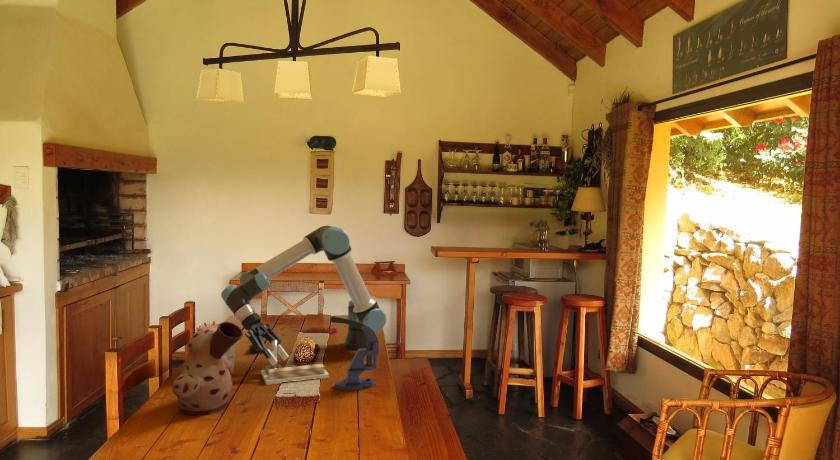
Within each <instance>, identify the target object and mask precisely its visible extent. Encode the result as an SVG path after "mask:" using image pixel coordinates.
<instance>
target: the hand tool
mask: <svg viewBox="0 0 840 460" xmlns="http://www.w3.org/2000/svg"><path fill="white" fill-rule="evenodd" d="M262 339H263V340H264V338H263V337H262ZM258 349H259V348H258ZM249 353H250V354H251V355H257V354H258V353H257V351H256V350H255V348H254V347H253V345H252V346H250V348H249Z"/></svg>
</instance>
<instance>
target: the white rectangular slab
mask: <svg viewBox="0 0 840 460" xmlns="http://www.w3.org/2000/svg"><path fill="white" fill-rule="evenodd" d="M260 375H261V377H262V379H263V382H264V383H265V385H266V386H271V385H277V384H283V383H282V382H283V381H292V380H301V379H313V378H320V379H319V380H324V379H330V374H329V372H328V371H327V370H326V369H325V374H318V375H309V376H300V377H291V378H282V379H272V380H270V379H269V377H268V375H267V373H266V371H265V369H262V370H260Z"/></svg>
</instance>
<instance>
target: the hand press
mask: <svg viewBox="0 0 840 460" xmlns="http://www.w3.org/2000/svg"><path fill="white" fill-rule="evenodd" d="M330 322H331V323H336V324H346V325H348V324H349V325H353V326H356V327H358V328H359V329H361V330H363V331H364V333H365V334H366V335H367V336H368V338H369V339H370V341H371V342H372V343H371V342H370V341H369V342H367V348H365V349H358V350H357V349H356V353H355V354H354V356H353V358H352V359H351V362H350V363H349V365H348V367H347V369H346V377H345V378H344V379H339V380H336V381H334V389H336V390H339V391H340V390H341V391H362V390H363V389H370V388H373V387H374V386H375V385H374V384H375V381H374V379H372V378H366V377H365V378H362V379H360V375H361V374H362V373H363V372H365V371H372V370H375V369H377V368H378V356H379V347H380V346H379V345H380V344H379V339H378V336H377V334H376V333H374V331H373V330H372V329H371V328H369V327H368V326H366V325H364V324H363V323H360V322H357V321H354V320H350V319H348V318H344V317H339V316H335V315H334V316H331V317H330ZM364 358H365V359H366V360H365V361H366V362H365V363H364Z"/></svg>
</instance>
